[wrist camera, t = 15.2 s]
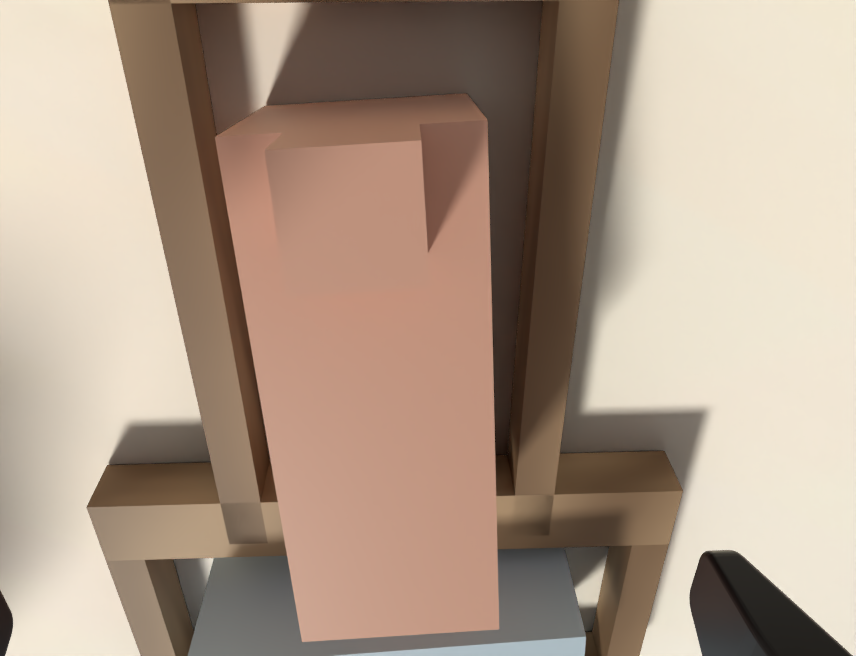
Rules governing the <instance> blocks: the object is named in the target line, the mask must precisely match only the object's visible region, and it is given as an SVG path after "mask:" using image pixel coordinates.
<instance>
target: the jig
mask: <svg viewBox="0 0 856 656" xmlns="http://www.w3.org/2000/svg"><path fill="white" fill-rule="evenodd" d="M433 1H543V5H542V18H541V31H540V44H539V56H538V69H537V82H536V95H535V108H534V120H533V133H532V146H531V159H530V171H529V184H528V197H527V210H526V222H525V235H524V248H523V261H522V274H521V286H520V299H519V312H518V325H517V337H516V350H515V363H514V376H513V388H512V401H511V414H510V427H509V439H508V452H507V455H495V464H496V508H497V549H529V548H563V547H597V546H609V550H608V555H607V560H606V565H605V570H604V575H603V580H602V585H601V590H600V595H599V600H598V605H597V610H596V615H595V620H594V625H593V630H592V632H585V634H586V645H585V656H639V655H640V651H641V647H642V643H643V640H644V636H645V632H646V628H647V625H648V621H649V617H650V613H651V610H652V606H653V602H654V598H655V594H656V591H657V587H658V583H659V579H660V576H661V572H662V568H663V564H664V561H665V557H666V553H667V549H668V545H669V542H670V538H671V534H672V530H673V527H674V523H675V519H676V515H677V512H678V508H679V504H680V500H681V497H682V493H683V490H682V488H681V486H680V484H679V481H678V479H677V477H676V475H675V473H674V471H673V468H672V466H671V464H670V462H669V460H668V458H667V455H666V453H665V451H640V452H601V453H562V454H560V447H561V439H562V431H563V424H564V416H565V408H566V401H567V393H568V386H569V378H570V370H571V363H572V355H573V347H574V340H575V332H576V325H577V317H578V309H579V302H580V294H581V286H582V279H583V271H584V263H585V256H586V248H587V241H588V233H589V225H590V218H591V210H592V202H593V195H594V187H595V179H596V172H597V164H598V157H599V149H600V141H601V134H602V126H603V118H604V111H605V103H606V96H607V88H608V80H609V73H610V65H611V57H612V50H613V42H614V34H615V27H616V19H617V12H618V4H619V0H108V2H109V6H110V11H111V15H112V20H113V24H114V28H115V33H116V37H117V42H118V46H119V51H120V55H121V60H122V64H123V69H124V73H125V78H126V82H127V87H128V91H129V96H130V100H131V105H132V109H133V114H134V118H135V123H136V127H137V132H138V136H139V141H140V145H141V150H142V154H143V159H144V163H145V168H146V172H147V177H148V181H149V186H150V190H151V195H152V199H153V204H154V208H155V213H156V217H157V222H158V226H159V231H160V235H161V240H162V244H163V249H164V253H165V258H166V262H167V267H168V271H169V276H170V280H171V285H172V289H173V294H174V298H175V303H176V307H177V312H178V316H179V321H180V325H181V329H182V334H183V338H184V343H185V347H186V352H187V356H188V361H189V365H190V370H191V374H192V379H193V383H194V388H195V392H196V397H197V401H198V406H199V410H200V415H201V419H202V424H203V428H204V433H205V437H206V442H207V446H208V451H209V455H210V460H211V462H210V463H171V464H132V465H107V467H106V469H105V471H104V473H103V475H102V477H101V479H100V481H99V483H98V485H97V487H96V489H95V491H94V493H93V495H92V497H91V499H90V501H89V503H88V505H87V510H88V513H89V515H90V518H91V521H92V524H93V526H94V529H95V532H96V535H97V537H98V540H99V543H100V545H101V548H102V551H103V554H104V556H105V559H106V562H107V565H108V567H109V570H110V573H111V575H112V578H113V581H114V584H115V586H116V589H117V592H118V595H119V597H120V600H121V603H122V606H123V608H124V611H125V614H126V616H127V619H128V622H129V625H130V627H131V630H132V633H133V636H134V638H135V641H136V644H137V646H138V649H139V652H140V655H141V656H188V652H189V649H190V645H191V641H192V638H193V634H194V631H193V627H192V624H191V620H190V617H189V613H188V610H187V607H186V603H185V600H184V596H183V593H182V589H181V586H180V582H179V579H178V576H177V572H176V569H175V565H174V562H173V559H190V558H224V557H258V556H287V552H286V547H285V541H284V535H283V529H282V523H281V518H280V512H279V506H278V500H277V494H276V489H275V483H274V477H273V471H272V466H271V461H269V454H268V448H267V442H266V436H265V430H264V424H263V418H262V411H261V405H260V399H259V393H258V387H257V381H256V375H255V368H254V362H253V356H252V350H251V344H250V338H249V332H248V327H247V321H246V315H245V309H244V304H243V298H242V292H241V286H240V280H239V275H238V269H237V263H236V257H235V251H234V246H233V240H232V234H231V228H230V222H229V217H228V211H227V205H226V199H225V194H224V188H223V182H222V176H221V170H220V165H219V159H218V153H217V147H216V141H215V137H216V136H217V135H216V129H215V123H214V117H213V110H212V104H211V98H210V92H209V86H208V80H207V74H206V67H205V61H204V55H203V49H202V43H201V37H200V31H199V24H198V18H197V12H196V6H195V3H288V2H433Z"/></svg>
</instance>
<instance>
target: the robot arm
mask: <svg viewBox="0 0 856 656" xmlns="http://www.w3.org/2000/svg"><path fill="white" fill-rule="evenodd" d="M690 608H691V612H692V616H693V620H694V624H695V628H696V632H697V636H698V640H699V644H700V648H701V652H702V656H852V655H851V654H850V653H849V652H848V651H847V650H846V649H845V648H844V647H843V646H841V645H840V644H839V643H838V642H837V641H836V640H835V639H834V638H833V637H831V636H830V635H829V634H828V633H827V632H826V631H825V630H824V629H823V628H822V627H820V626H819V625H818V624H817V623H816V622H815V621H814V620H813V619H812V618H811V617H809V616H808V615H807V614H806V613H805V612H804V611H803V610H802V609H801V608H800V607H798V606H797V605H796V604H795V603H794V602H793V601H792V600H791V599H790V598H788V597H787V596H786V595H785V594H784V593H783V592H782V591H781V590H780V589H779V588H777V587H776V586H775V585H774V584H773V583H772V582H771V581H770V580H769V579H768V578H766V577H765V576H764V575H763V574H762V573H761V572H760V571H759V570H758V569H756V568H755V567H754V566H753V565H752V564H751V563H750V562H749V561H748V560H747V559H745V558H744V557H743V556H742V555H741V554H739V553H738V552H736V551H732V550H718V551H706V552H704V553H703V554H702V555H701V557H700V560H699V563H698V566H697V570H696V573H695V576H694V580H693V583H692V586H691V590H690ZM12 628H13V618H12V613H11V611H10V609H9V607H8V605H7V603H6V601H5V599H4V597H3V595H2V593H1V591H0V656H5V654H6V651H7V647H8V644H9V641H10V637H11V634H12Z"/></svg>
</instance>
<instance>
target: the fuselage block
mask: <svg viewBox="0 0 856 656" xmlns="http://www.w3.org/2000/svg"><path fill="white" fill-rule="evenodd" d="M215 141H216V147H217V153H218V159H219V165H220V170H221V176H222V182H223V188H224V194H225V199H226V205H227V211H228V217H229V222H230V228H231V234H232V240H233V246H234V251H235V257H236V263H237V269H238V275H239V280H240V286H241V292H242V298H243V304H244V309H245V315H246V321H247V327H248V332H249V338H250V344H251V350H252V356H253V361H254V367H255V373H256V379H257V385H258V390H259V396H260V402H261V408H262V413H263V419H264V425H265V431H266V437H267V442H268V448H269V454H270V460H271V466H272V471H273V477H274V483H275V489H276V494H277V500H278V506H279V512H280V518H281V523H282V529H283V535H284V541H285V547H286V552H287V558H288V564H289V570H290V575H291V581H292V587H293V593H294V599H295V604H296V610H297V616H298V622H299V628H300V633H301V639H302V642H311V641H327V640H342V639H358V638H374V637H389V636H405V635H420V634H436V633H452V632H467V631H483V630H498V629H499V595H498V551H497V508H496V464H495V421H494V377H493V334H492V291H491V247H490V204H489V160H488V120H487V119H486V117H485V116H484V115H483V113H482V112H481V111H480V110H479V108H478V107H477V106H476V105H475V103H474V102H473V101H472V99H471V98H470V97H469V96H468V94H467V93H463V94H447V95H431V96H415V97H399V98H383V99H367V100H351V101H335V102H319V103H303V104H287V105H271V106H264V107H262V108H261V109H259V110H257V111H256V112H254V113H252V114H251V115H249V116H248V117H246V118H244V119H243V120H241V121H240V122H238V123H236V124H235V125H233V126H232V127H230V128H228V129H227V130H225V131H224V132H222V133H220V134H219V135H217V136H216V137H215Z"/></svg>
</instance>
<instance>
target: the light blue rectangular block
mask: <svg viewBox="0 0 856 656" xmlns="http://www.w3.org/2000/svg"><path fill="white" fill-rule="evenodd" d="M497 551H498V595H499V629H498V630H483V631H467V632H452V633H436V634H420V635H405V636H389V637H374V638H358V639H342V640H327V641H311V642H302V639H301V633H300V628H299V622H298V616H297V610H296V604H295V599H294V593H293V587H292V581H291V575H290V570H289V564H288V558H287V556H258V557H224V558H214V560H213V564H212V567H211V571H210V575H209V578H208V582H207V586H206V590H205V593H204V597H203V601H202V604H201V608H200V612H199V615H198V619H197V623H196V626H195V630H194V634H193V638H192V641H191V645H190V649H189V652H188V656H585V645H586V634H585V630H584V626H583V622H582V618H581V614H580V610H579V605H578V601H577V597H576V593H575V589H574V585H573V581H572V577H571V573H570V569H569V565H568V560H567V556H566V552H565V548H564V547H563V548H529V549H497Z"/></svg>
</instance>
